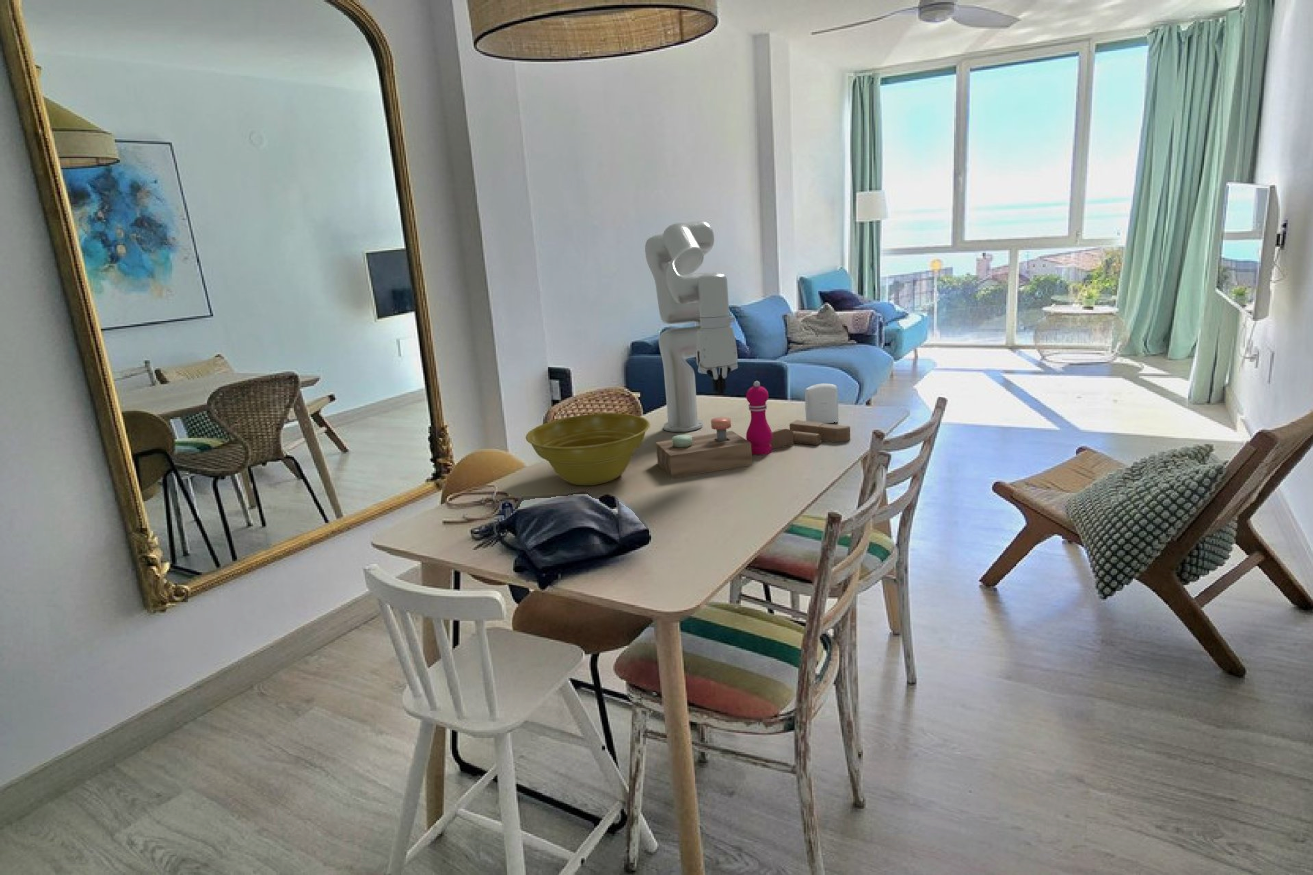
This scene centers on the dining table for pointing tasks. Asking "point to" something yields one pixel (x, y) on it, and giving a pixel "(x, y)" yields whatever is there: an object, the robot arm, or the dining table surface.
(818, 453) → the dining table surface
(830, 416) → the photo printer
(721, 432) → the red button
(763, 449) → the pepper mill
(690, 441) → the green button
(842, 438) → the wooden block set
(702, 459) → the button panel
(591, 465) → the planter bowl
